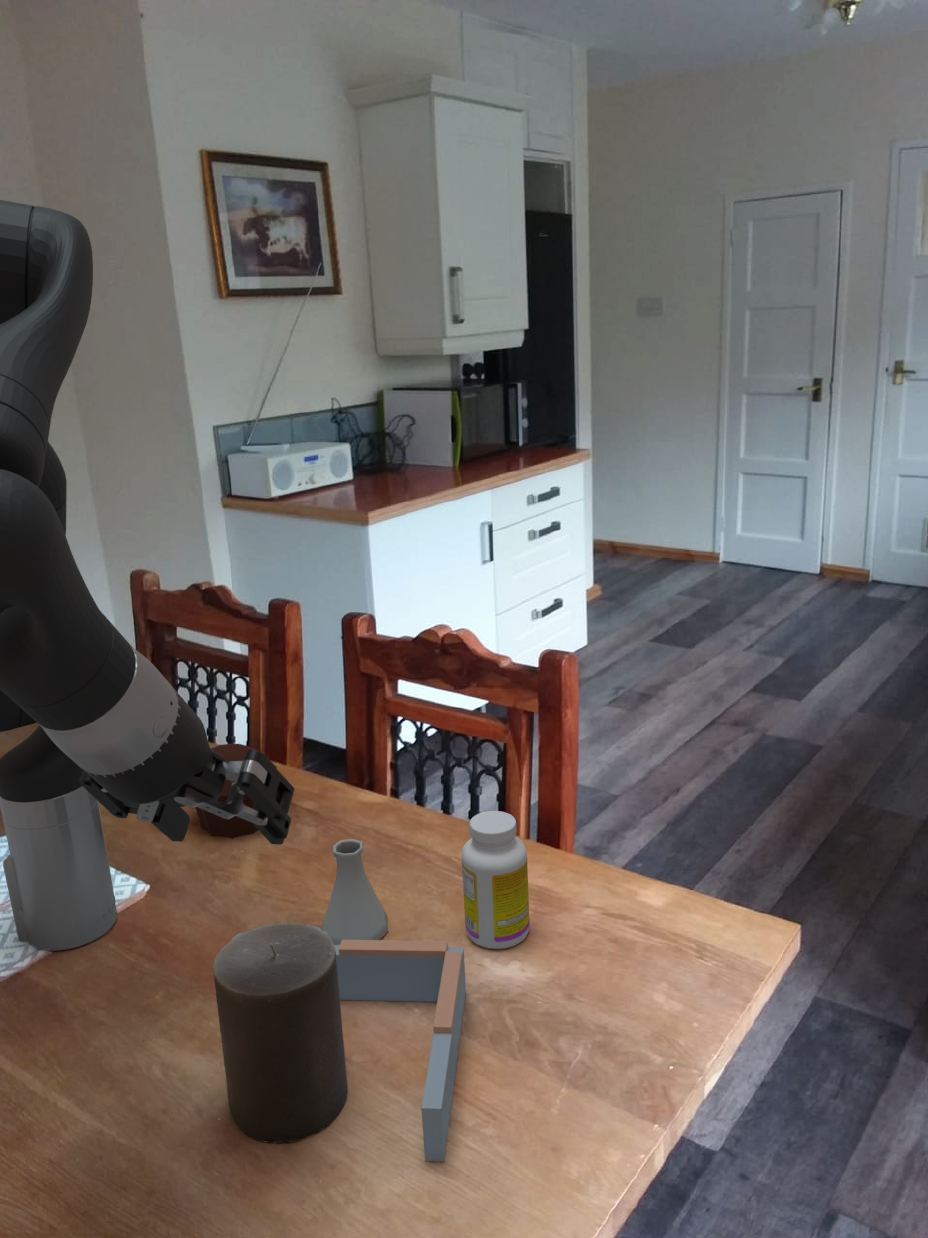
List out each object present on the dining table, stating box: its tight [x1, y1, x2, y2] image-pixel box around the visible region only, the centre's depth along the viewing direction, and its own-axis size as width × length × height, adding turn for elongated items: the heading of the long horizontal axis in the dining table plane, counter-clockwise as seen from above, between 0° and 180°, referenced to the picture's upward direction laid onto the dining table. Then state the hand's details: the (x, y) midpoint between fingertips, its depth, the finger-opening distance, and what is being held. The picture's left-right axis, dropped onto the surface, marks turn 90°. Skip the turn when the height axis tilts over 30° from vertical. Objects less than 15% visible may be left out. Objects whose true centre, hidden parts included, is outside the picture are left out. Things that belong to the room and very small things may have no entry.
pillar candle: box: [212, 922, 348, 1144], centre depth 79 cm, size 10×10×15 cm
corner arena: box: [334, 939, 467, 1163], centre depth 84 cm, size 20×20×6 cm
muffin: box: [194, 743, 278, 840], centre depth 126 cm, size 12×11×10 cm
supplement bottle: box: [461, 810, 530, 950], centre depth 100 cm, size 7×7×13 cm
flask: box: [321, 838, 389, 945], centre depth 102 cm, size 7×7×10 cm
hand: (231, 831), depth 75 cm, fingers open, 8 cm apart
